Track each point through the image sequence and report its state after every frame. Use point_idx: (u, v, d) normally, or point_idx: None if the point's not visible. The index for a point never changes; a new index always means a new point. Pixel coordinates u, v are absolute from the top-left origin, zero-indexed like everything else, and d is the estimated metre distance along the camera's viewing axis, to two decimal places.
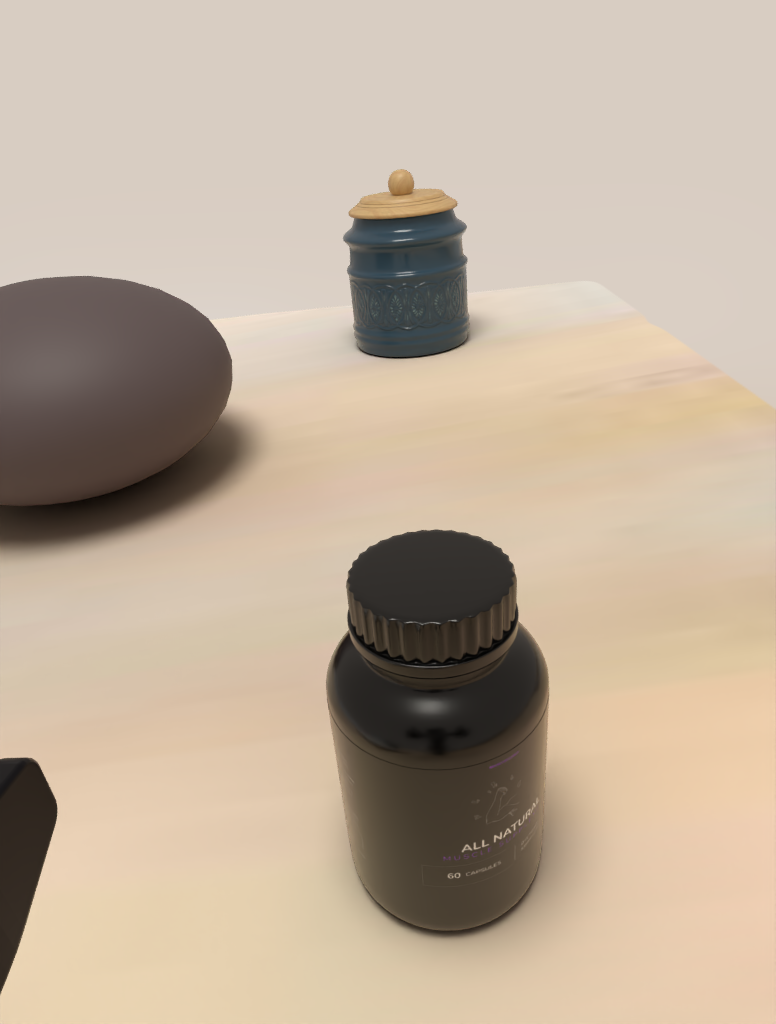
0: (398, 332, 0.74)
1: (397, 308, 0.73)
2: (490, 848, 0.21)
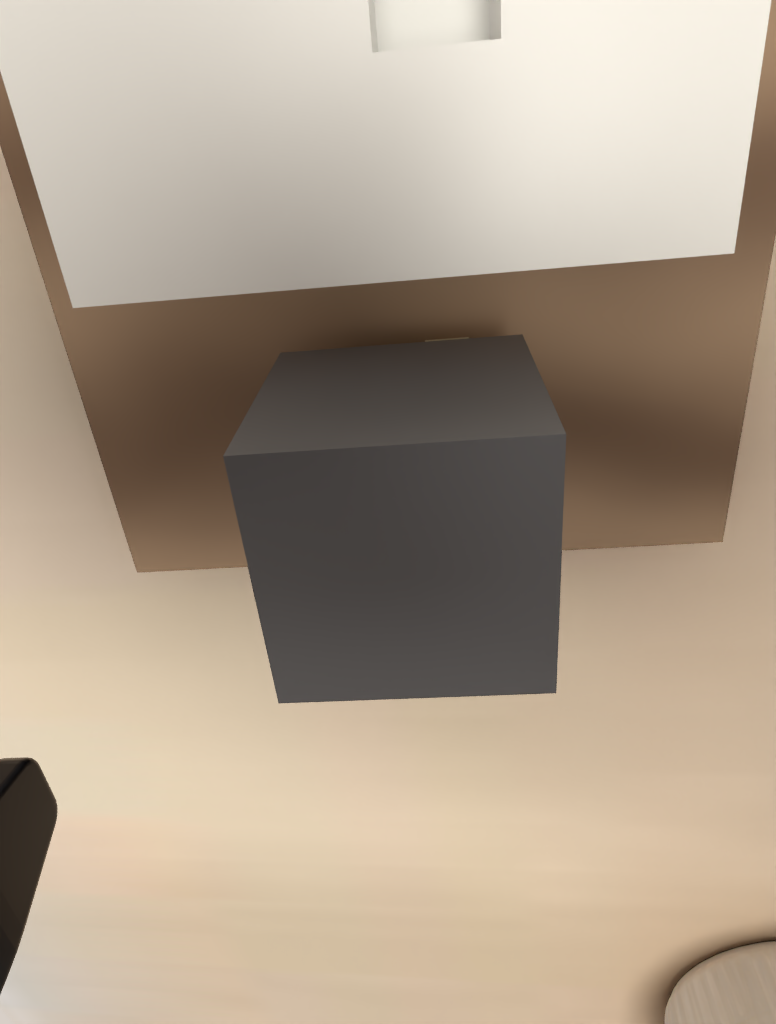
0: None
1: None
2: None
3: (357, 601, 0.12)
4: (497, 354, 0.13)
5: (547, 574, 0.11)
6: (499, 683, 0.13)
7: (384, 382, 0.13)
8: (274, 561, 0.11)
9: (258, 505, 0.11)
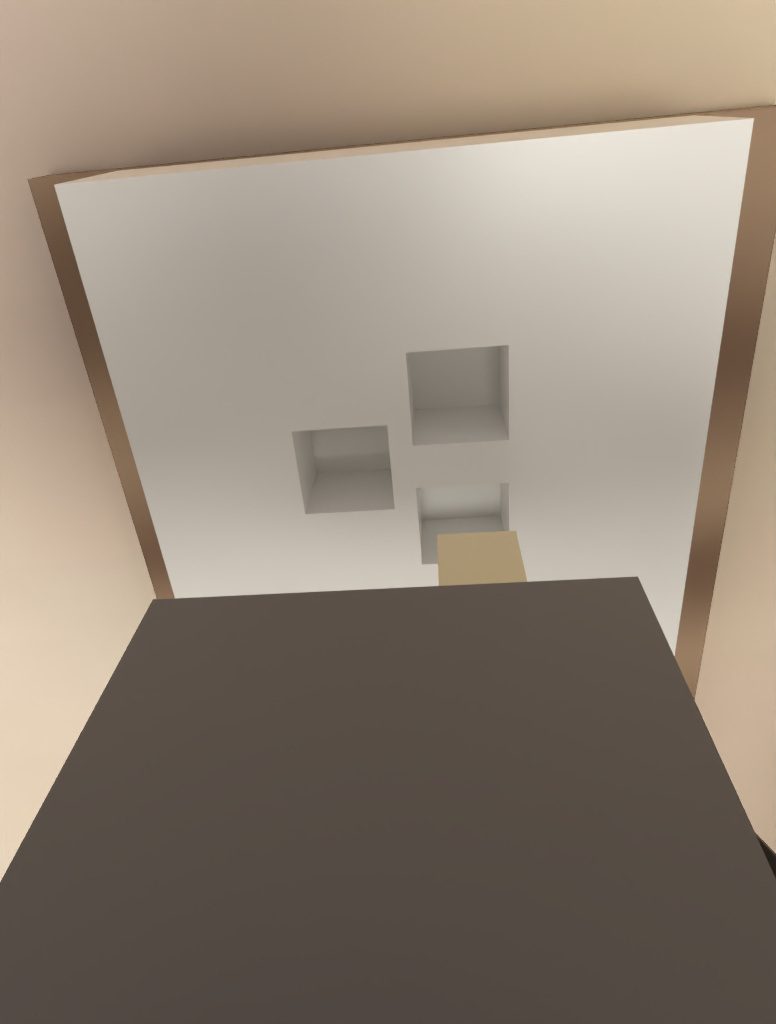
0: None
1: None
2: None
3: None
4: (600, 657, 0.06)
5: None
6: None
7: (347, 772, 0.05)
8: None
9: None
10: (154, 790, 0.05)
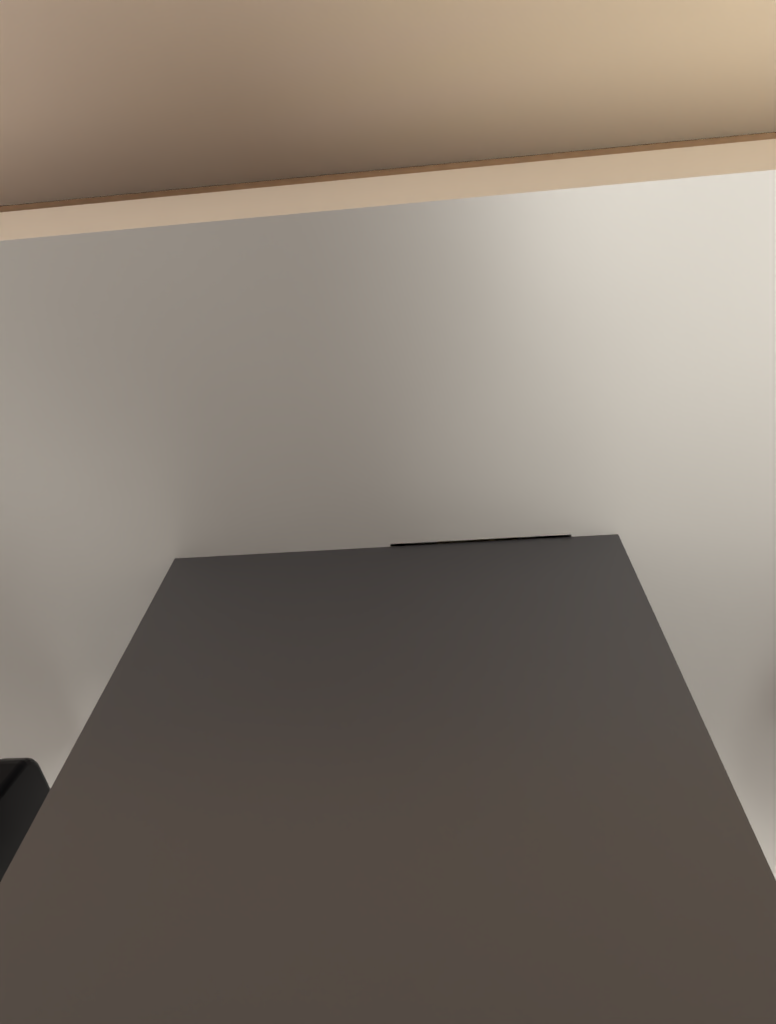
0: None
1: None
2: None
3: None
4: (580, 602, 0.07)
5: None
6: None
7: (356, 695, 0.06)
8: None
9: None
10: (184, 712, 0.06)
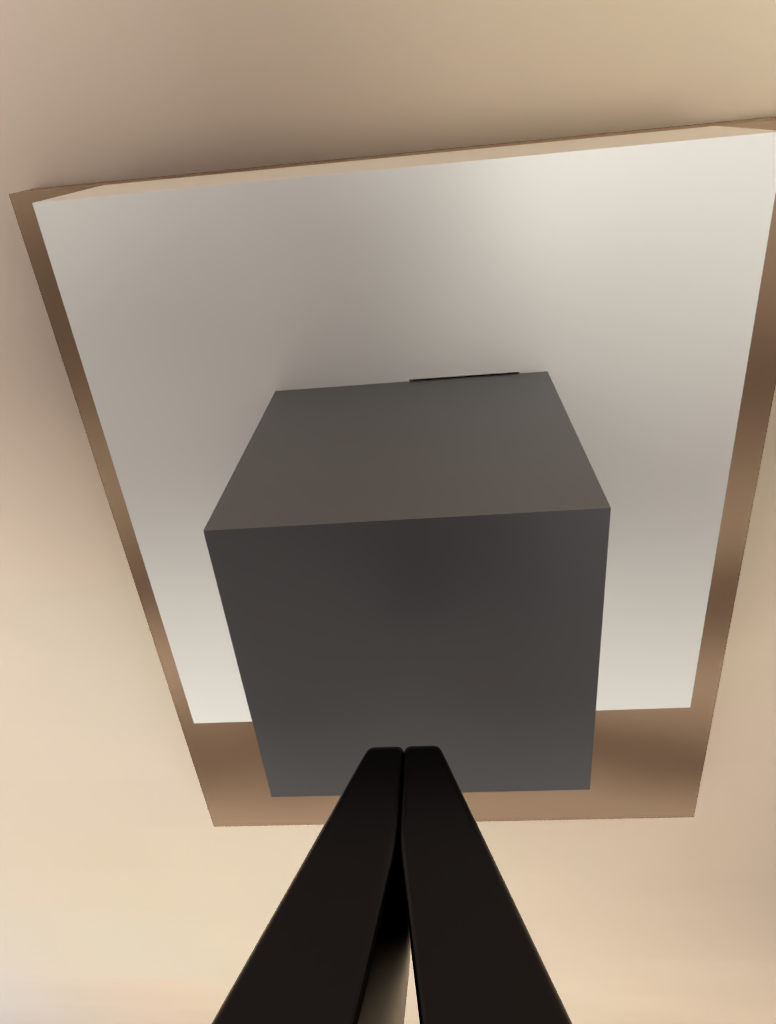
0: None
1: None
2: None
3: (362, 690, 0.10)
4: (520, 397, 0.12)
5: (582, 663, 0.10)
6: (525, 778, 0.11)
7: (393, 432, 0.11)
8: (265, 646, 0.10)
9: (246, 584, 0.09)
10: (299, 441, 0.11)
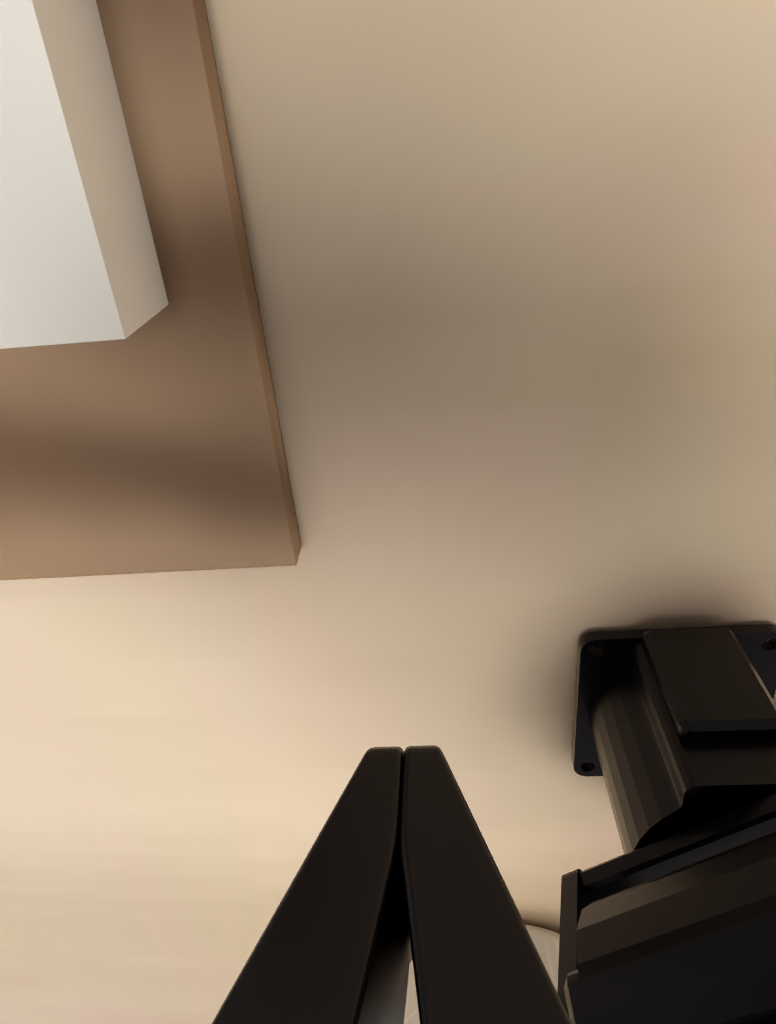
0: None
1: None
2: None
3: None
4: None
5: None
6: None
7: None
8: None
9: None
10: None
